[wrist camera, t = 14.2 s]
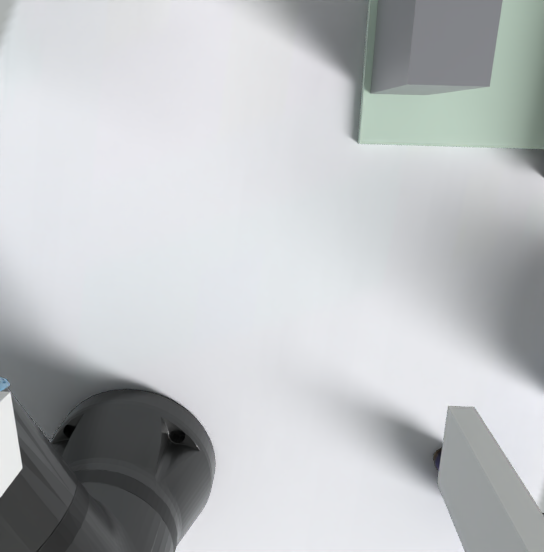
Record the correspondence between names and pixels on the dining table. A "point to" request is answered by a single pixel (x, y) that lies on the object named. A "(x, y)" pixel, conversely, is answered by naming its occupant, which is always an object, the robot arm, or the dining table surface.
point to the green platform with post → (454, 74)
